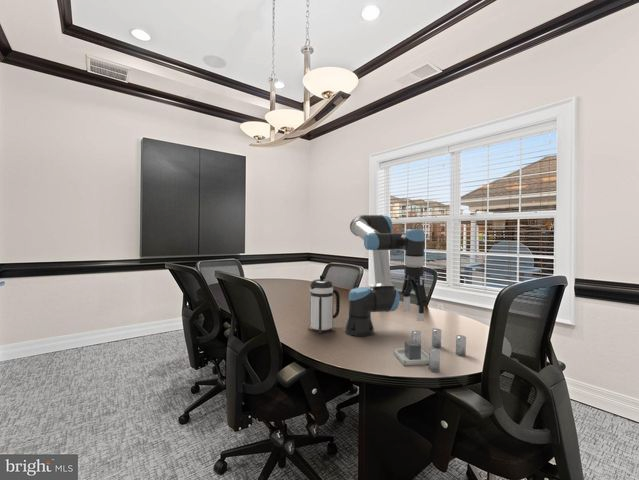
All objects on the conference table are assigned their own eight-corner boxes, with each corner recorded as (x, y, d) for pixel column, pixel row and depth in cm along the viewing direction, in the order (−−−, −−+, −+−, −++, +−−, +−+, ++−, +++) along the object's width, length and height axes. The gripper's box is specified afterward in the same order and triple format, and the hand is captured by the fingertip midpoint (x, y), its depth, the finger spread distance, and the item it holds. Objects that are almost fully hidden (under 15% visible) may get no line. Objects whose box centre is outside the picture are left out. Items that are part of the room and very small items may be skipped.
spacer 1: (413, 350, 139) (413, 333, 139) (410, 347, 143) (410, 330, 143) (422, 350, 140) (422, 333, 139) (418, 347, 144) (418, 330, 143)
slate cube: (409, 360, 128) (409, 345, 128) (404, 355, 133) (404, 341, 133) (420, 359, 129) (421, 345, 129) (415, 354, 134) (415, 341, 133)
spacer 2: (434, 348, 143) (434, 331, 142) (430, 345, 147) (430, 328, 146) (442, 347, 143) (443, 330, 143) (438, 344, 147) (438, 328, 147)
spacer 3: (431, 372, 118) (432, 352, 118) (426, 368, 122) (427, 348, 122) (441, 372, 119) (442, 351, 118) (436, 367, 123) (436, 347, 122)
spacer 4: (458, 356, 133) (459, 338, 133) (453, 352, 137) (454, 335, 137) (467, 356, 134) (468, 338, 134) (462, 352, 138) (462, 334, 138)
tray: (404, 365, 124) (404, 361, 124) (393, 353, 136) (393, 348, 136) (433, 364, 125) (433, 359, 125) (420, 352, 138) (420, 347, 138)
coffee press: (334, 335, 159) (335, 277, 158) (304, 333, 162) (305, 276, 161) (339, 325, 176) (340, 273, 174) (312, 323, 179) (312, 272, 178)
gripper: (437, 270, 118) (435, 325, 119) (410, 262, 142) (409, 307, 143) (418, 270, 117) (417, 325, 118) (394, 262, 141) (393, 308, 142)
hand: (413, 315), depth 131 cm, fingers open, 13 cm apart
